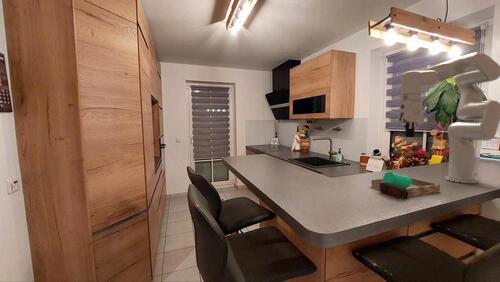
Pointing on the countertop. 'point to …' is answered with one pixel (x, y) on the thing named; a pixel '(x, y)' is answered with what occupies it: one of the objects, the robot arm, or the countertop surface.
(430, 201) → the countertop surface
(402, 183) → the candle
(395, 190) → the brick
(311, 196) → the countertop surface
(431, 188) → the tray
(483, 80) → the robot arm
